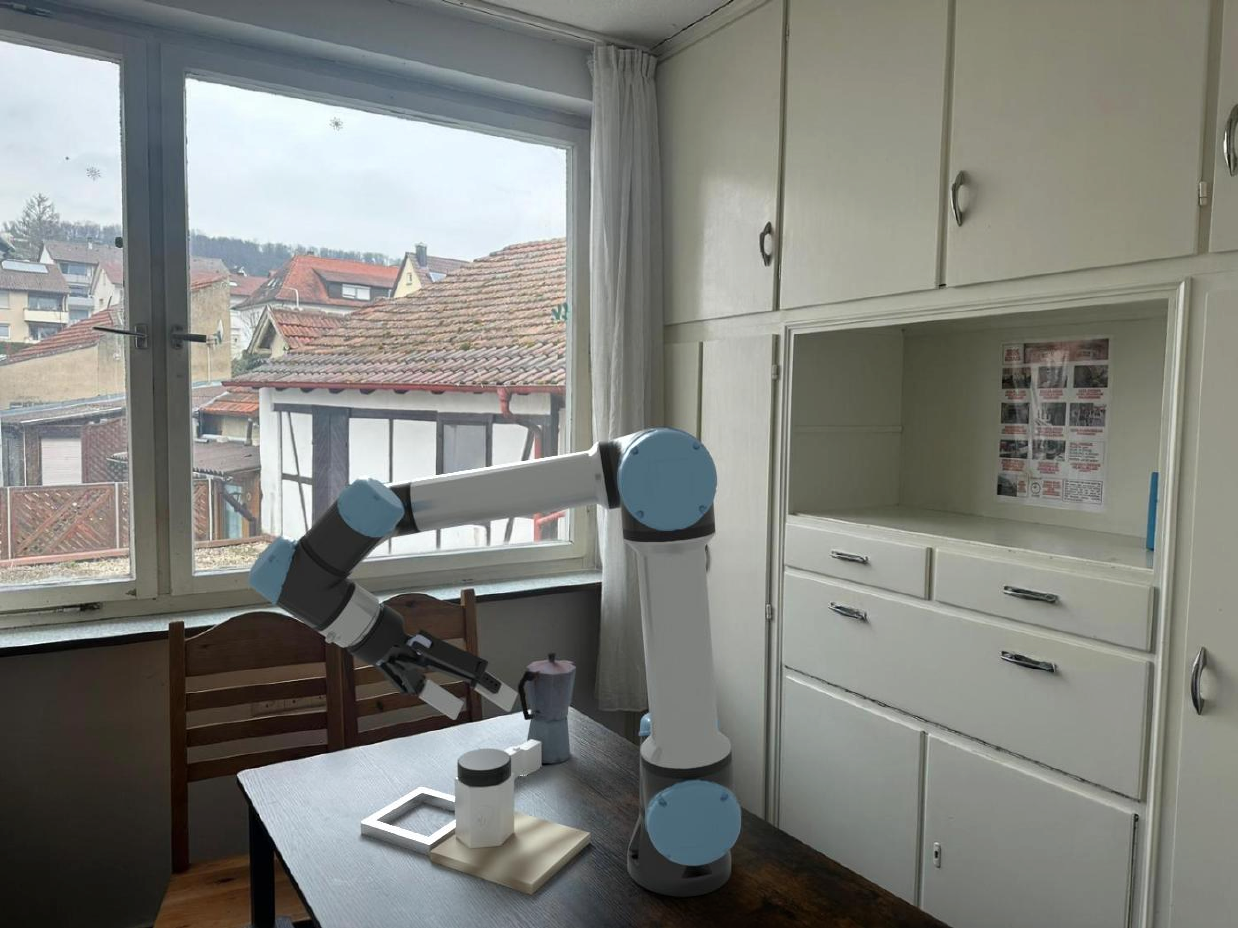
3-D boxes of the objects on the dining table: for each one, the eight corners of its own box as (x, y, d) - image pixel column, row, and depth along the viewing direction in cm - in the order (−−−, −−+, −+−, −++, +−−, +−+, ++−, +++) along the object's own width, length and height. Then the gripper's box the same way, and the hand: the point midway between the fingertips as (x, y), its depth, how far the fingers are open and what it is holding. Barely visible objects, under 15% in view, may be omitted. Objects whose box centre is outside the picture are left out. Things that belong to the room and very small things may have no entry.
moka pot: (590, 748, 167) (590, 648, 165) (542, 777, 154) (542, 669, 152) (551, 738, 172) (551, 640, 170) (501, 765, 159) (501, 660, 157)
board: (590, 842, 131) (590, 832, 131) (531, 894, 117) (531, 884, 117) (495, 814, 140) (495, 805, 140) (430, 860, 126) (430, 851, 126)
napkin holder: (484, 799, 146) (484, 767, 146) (471, 772, 157) (471, 742, 157) (567, 785, 152) (567, 754, 151) (549, 760, 162) (549, 731, 162)
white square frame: (487, 815, 140) (486, 805, 139) (429, 855, 127) (429, 844, 127) (421, 796, 146) (421, 786, 146) (360, 833, 134) (360, 822, 134)
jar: (454, 851, 126) (453, 772, 125) (455, 824, 134) (455, 749, 133) (515, 846, 127) (515, 768, 126) (513, 819, 135) (512, 746, 134)
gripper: (308, 662, 117) (427, 737, 125) (395, 635, 100) (527, 724, 108) (335, 616, 121) (449, 691, 130) (424, 583, 104) (548, 672, 113)
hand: (484, 706), depth 119 cm, fingers open, 13 cm apart
